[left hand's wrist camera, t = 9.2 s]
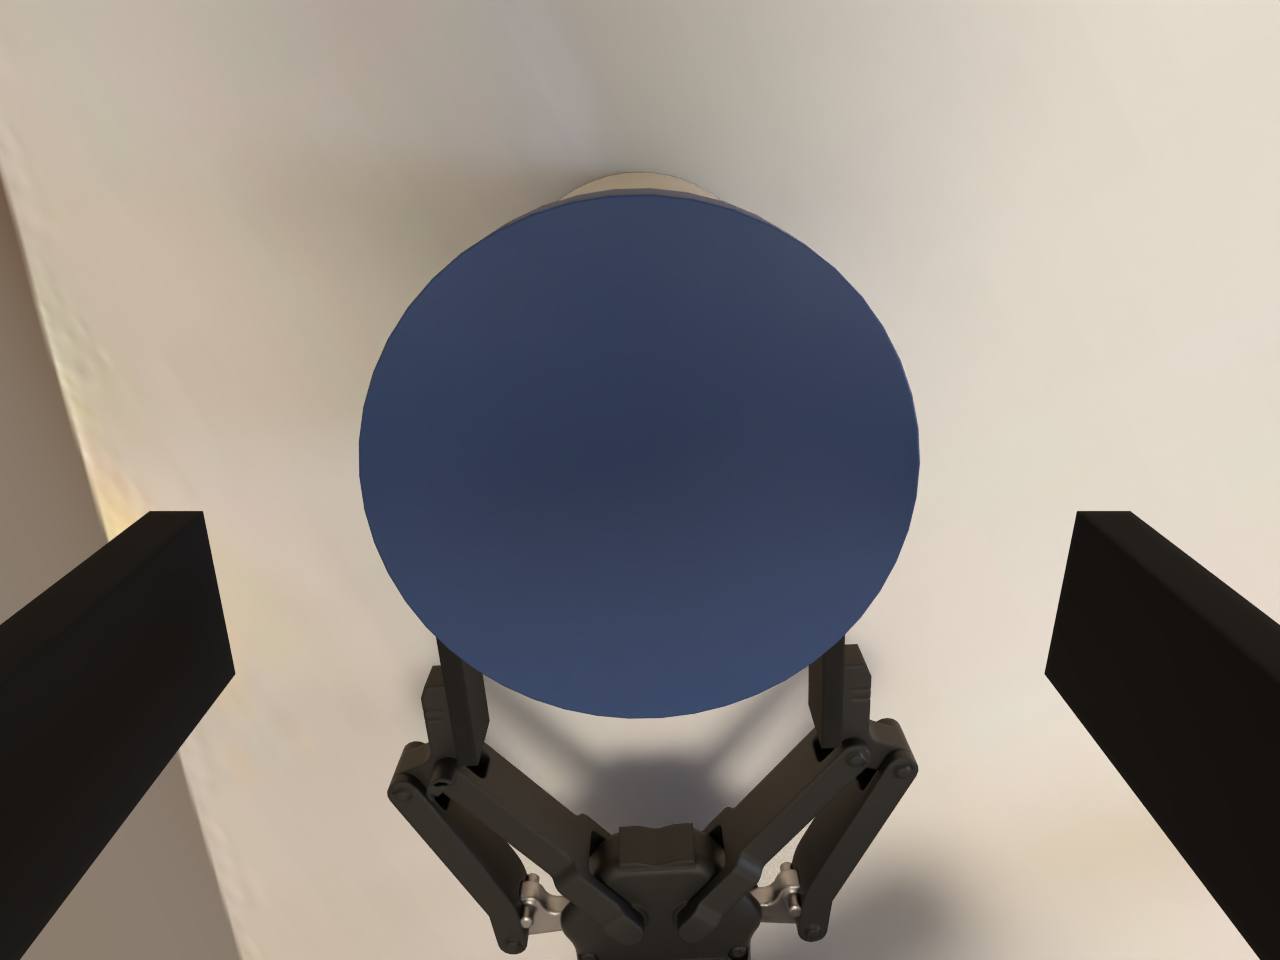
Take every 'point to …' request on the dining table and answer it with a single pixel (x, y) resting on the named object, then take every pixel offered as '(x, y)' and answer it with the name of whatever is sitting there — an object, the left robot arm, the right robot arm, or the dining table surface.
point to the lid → (639, 454)
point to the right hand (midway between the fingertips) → (638, 584)
